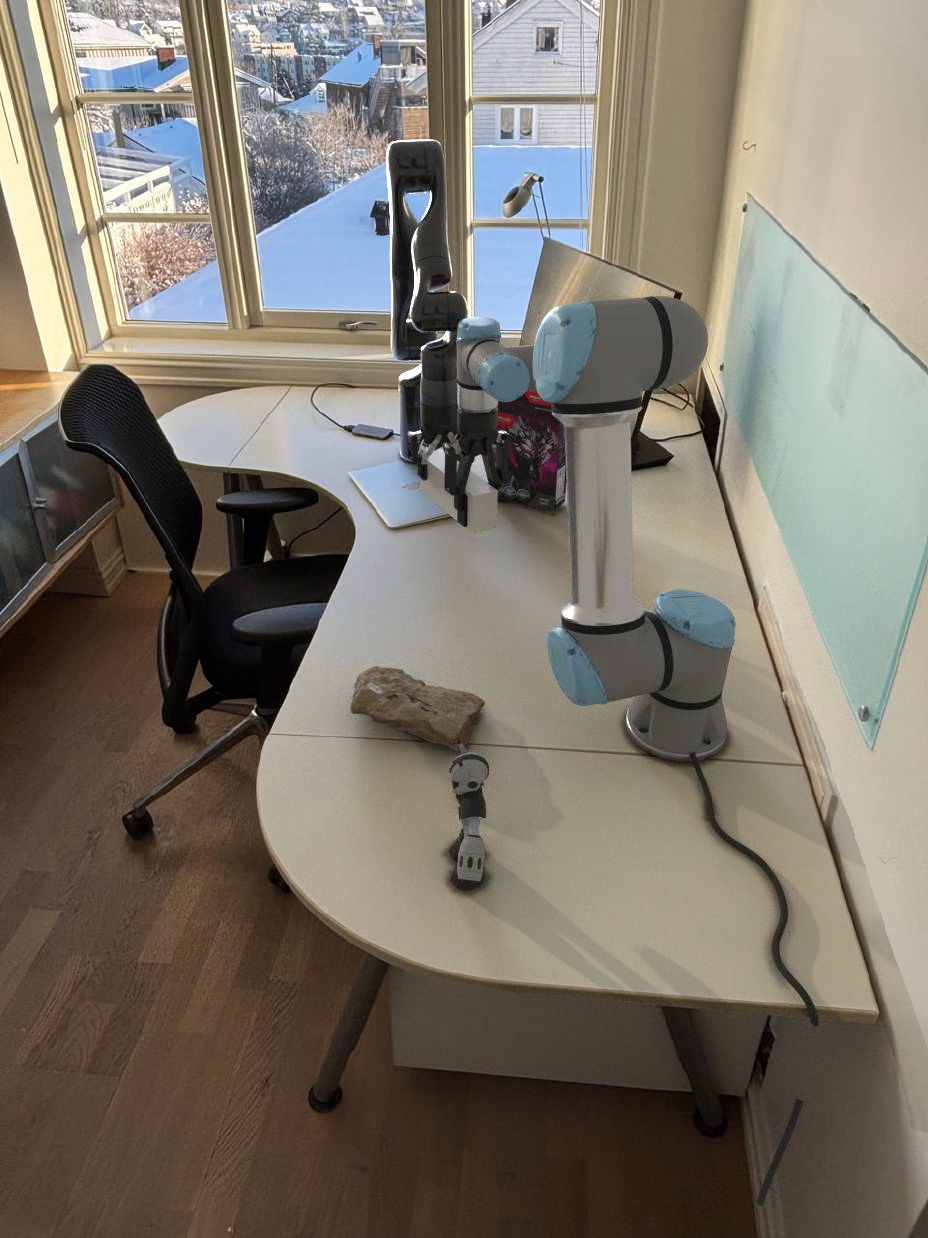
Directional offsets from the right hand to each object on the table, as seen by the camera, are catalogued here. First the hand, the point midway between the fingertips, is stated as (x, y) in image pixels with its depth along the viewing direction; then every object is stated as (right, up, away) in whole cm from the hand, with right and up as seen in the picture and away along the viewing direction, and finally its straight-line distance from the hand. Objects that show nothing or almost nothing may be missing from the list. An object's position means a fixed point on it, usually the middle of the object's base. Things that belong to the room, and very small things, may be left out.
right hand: (475, 520), depth 180 cm
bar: (-4, +3, +6) cm, 8 cm away
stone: (-10, -35, -35) cm, 51 cm away
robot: (-2, -52, -60) cm, 79 cm away
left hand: (-7, +10, +9) cm, 15 cm away
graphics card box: (+12, +8, +29) cm, 32 cm away
